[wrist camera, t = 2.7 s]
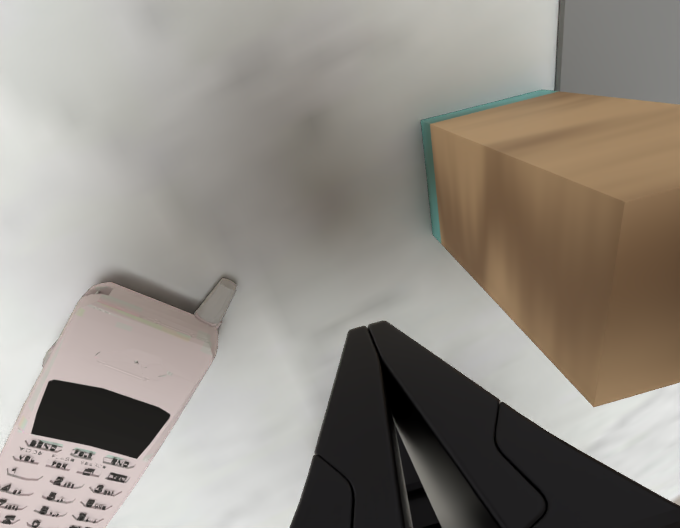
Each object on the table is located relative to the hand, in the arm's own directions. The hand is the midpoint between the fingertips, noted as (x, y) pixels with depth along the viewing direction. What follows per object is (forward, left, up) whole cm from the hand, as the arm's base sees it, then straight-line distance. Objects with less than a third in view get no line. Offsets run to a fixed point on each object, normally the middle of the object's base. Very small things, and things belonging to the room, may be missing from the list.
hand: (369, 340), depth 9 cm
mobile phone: (-9, +15, -9) cm, 20 cm away
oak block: (0, -7, -9) cm, 11 cm away
